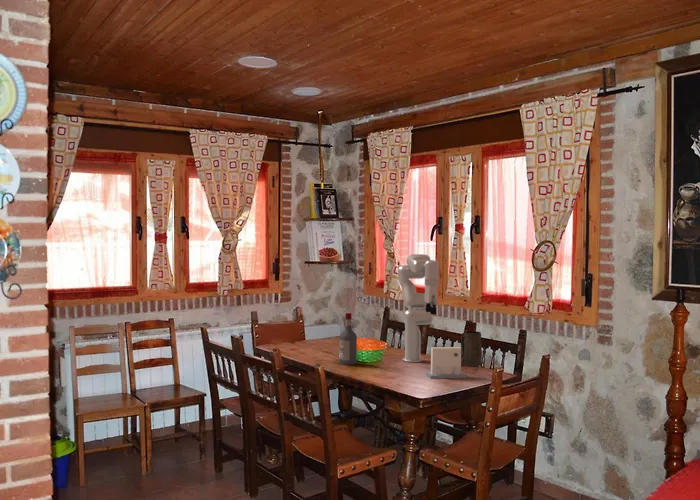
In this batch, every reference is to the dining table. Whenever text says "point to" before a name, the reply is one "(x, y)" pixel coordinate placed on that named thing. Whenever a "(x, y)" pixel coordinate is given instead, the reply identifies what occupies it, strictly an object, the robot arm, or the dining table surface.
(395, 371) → the dining table surface
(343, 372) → the dining table surface
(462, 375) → the hinge plate
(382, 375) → the dining table surface
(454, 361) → the cabinet door
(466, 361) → the beer stein
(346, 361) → the liquor
